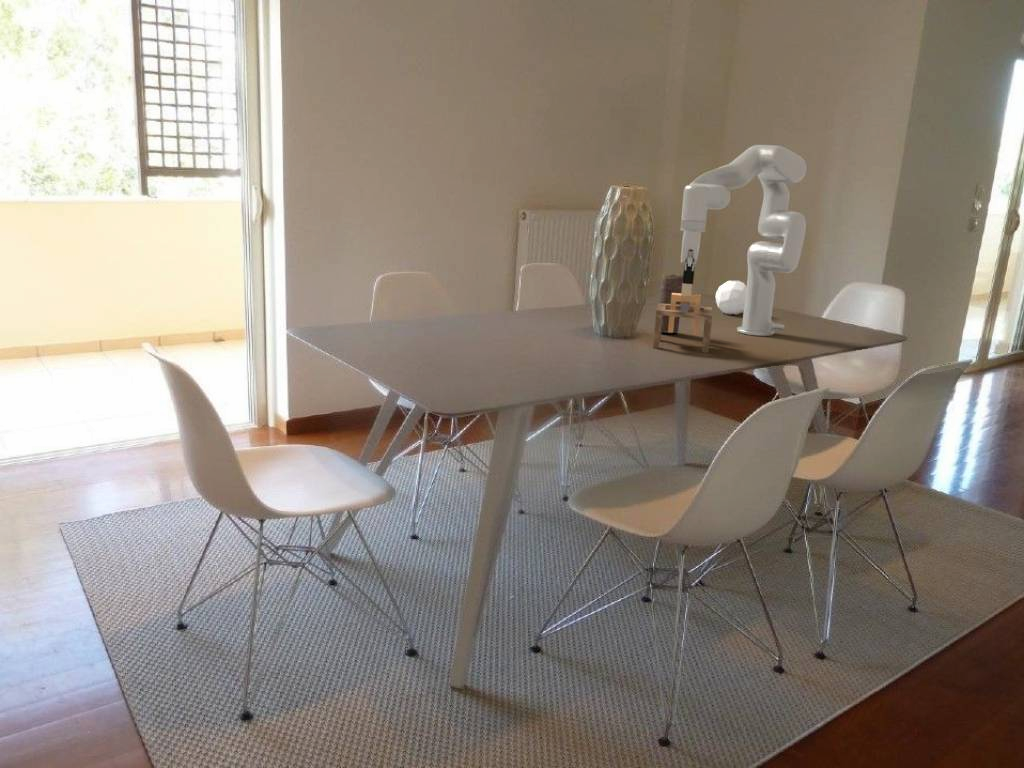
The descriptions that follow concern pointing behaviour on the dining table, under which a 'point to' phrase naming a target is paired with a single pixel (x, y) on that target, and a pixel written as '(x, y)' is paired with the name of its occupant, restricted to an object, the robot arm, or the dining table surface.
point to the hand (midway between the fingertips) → (687, 281)
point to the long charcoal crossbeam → (684, 307)
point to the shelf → (665, 311)
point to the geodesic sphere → (731, 297)
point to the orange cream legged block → (685, 297)
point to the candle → (667, 288)
